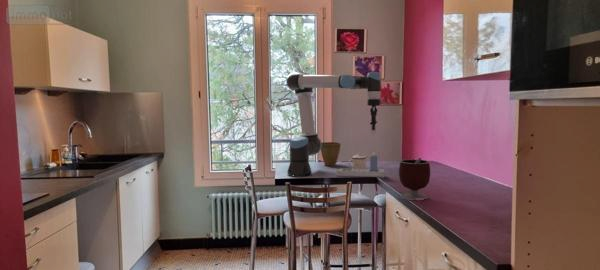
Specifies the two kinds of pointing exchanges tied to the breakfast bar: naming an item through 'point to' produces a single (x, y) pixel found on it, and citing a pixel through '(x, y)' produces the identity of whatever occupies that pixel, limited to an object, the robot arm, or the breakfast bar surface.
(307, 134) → the robot arm
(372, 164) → the plug
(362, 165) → the teacup with lid
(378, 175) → the panel
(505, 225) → the breakfast bar surface
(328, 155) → the plant pot
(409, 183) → the mate gourd
